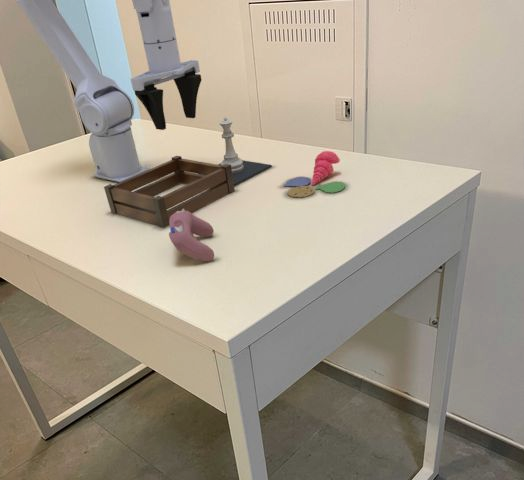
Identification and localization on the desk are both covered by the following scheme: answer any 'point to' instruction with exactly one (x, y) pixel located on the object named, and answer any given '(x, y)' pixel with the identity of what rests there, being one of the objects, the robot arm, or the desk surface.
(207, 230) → the video game controller
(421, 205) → the desk surface
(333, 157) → the toy pieces
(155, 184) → the crate
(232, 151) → the chess piece
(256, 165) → the mat
